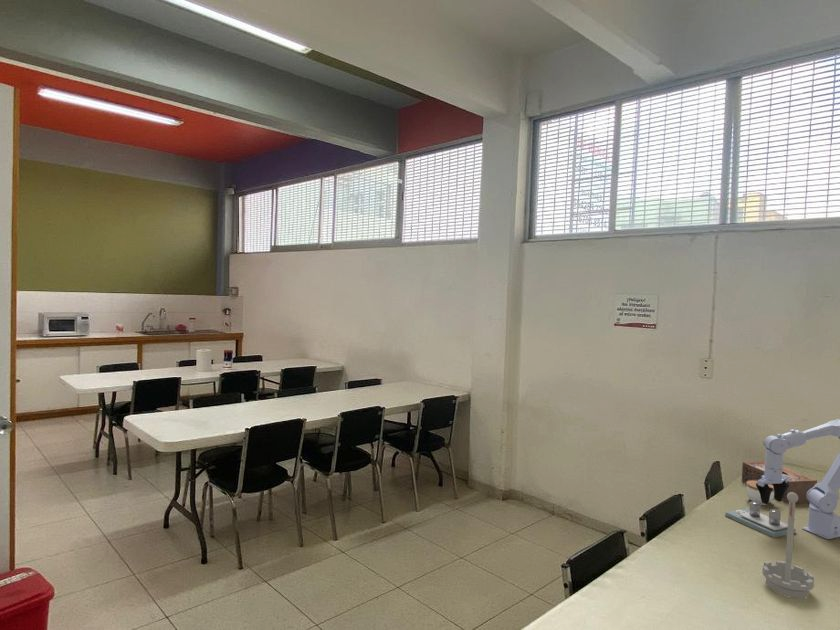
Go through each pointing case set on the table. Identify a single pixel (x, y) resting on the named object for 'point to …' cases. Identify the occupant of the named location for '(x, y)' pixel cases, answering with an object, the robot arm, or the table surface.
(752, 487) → the lidded jar
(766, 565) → the flag stand
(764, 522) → the scale
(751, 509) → the cylinder
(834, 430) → the robot arm
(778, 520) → the cylinder
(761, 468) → the tissue box cover
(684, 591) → the table surface
